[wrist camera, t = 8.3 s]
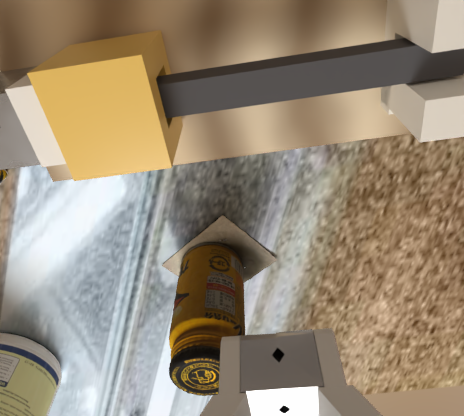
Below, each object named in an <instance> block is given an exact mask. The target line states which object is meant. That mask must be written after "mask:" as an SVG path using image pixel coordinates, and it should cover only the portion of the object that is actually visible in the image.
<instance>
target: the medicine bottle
mask: <svg viewBox="0 0 464 416" xmlns="http://www.w3.org/2000/svg"><path fill="white" fill-rule="evenodd" d="M7 176H8V172H7V171H6V170H5V169H4V170H0V184H1V183H2V182H3V180H4V179H5V178H6V177H7Z"/></svg>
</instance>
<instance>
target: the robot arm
mask: <svg viewBox="0 0 464 416" xmlns="http://www.w3.org/2000/svg"><path fill="white" fill-rule="evenodd" d="M200 416H382V415H381V414H380V413H379V412H378V411H377V410H376V409H375V408H374V407H373V406H372V405H371V404H370V403H369V401H368V400H367V399H366V398H365V397H364V396H363V395H362V394H361V393H360V392H359V391H358V390H357V389H356V388H355V387H354V386H353V385H347V384H346V380H345V376H344V372H343V368H342V363H341V359H340V355H339V351H338V347H337V343H336V339H335V335H334V332H333V330H332V329H331V328H326V329H316V330H313V331H312V329H310V330H300V331H289V332H279V333H276V334H260V335H244V336H229V337H222V340H221V348H220V373H219V394H218V395H213V396H212V398H211V399H210V401H209V402H208V404H207V405H206V407H205V408H204V410H203V411H202V413H201V414H200Z"/></svg>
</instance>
